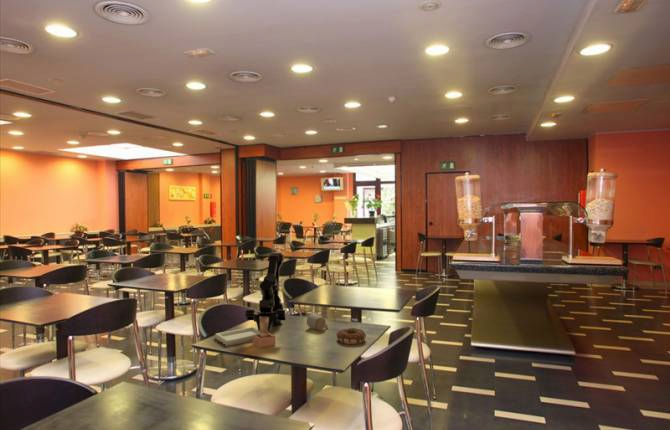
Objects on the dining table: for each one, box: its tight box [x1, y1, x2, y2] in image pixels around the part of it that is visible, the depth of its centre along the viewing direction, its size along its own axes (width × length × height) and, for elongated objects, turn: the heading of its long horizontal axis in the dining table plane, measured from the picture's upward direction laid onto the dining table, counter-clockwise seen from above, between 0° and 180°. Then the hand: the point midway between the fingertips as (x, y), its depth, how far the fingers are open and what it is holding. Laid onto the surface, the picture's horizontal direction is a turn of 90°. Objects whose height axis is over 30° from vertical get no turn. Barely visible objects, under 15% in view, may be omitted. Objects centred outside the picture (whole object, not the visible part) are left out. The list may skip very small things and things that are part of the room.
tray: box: [215, 326, 260, 347], centre depth 204 cm, size 20×14×2 cm
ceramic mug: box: [306, 312, 329, 331], centre depth 222 cm, size 11×8×8 cm
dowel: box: [260, 316, 269, 338], centre depth 195 cm, size 4×4×12 cm
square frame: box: [252, 332, 276, 349], centre depth 195 cm, size 8×8×4 cm
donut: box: [336, 327, 367, 345], centre depth 202 cm, size 14×14×5 cm
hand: (263, 331), depth 194 cm, fingers open, 4 cm apart
